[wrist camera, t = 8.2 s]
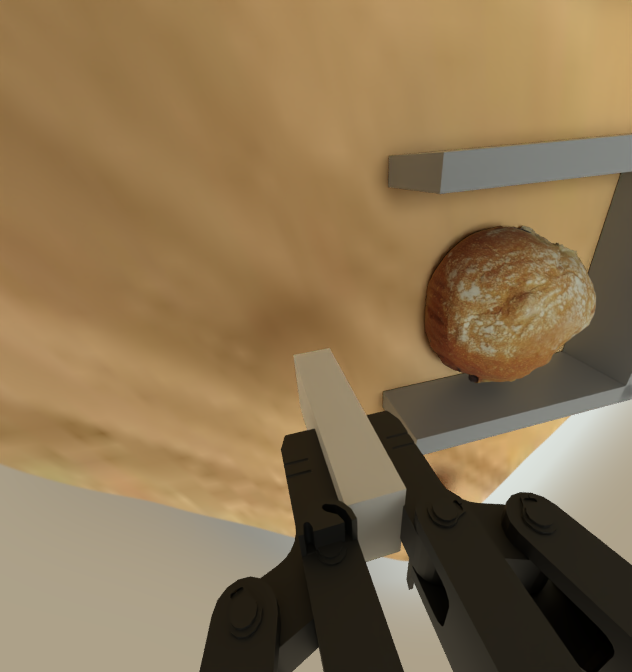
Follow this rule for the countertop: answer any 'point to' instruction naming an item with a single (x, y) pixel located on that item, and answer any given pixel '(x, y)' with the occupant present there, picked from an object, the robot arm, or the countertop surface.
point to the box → (580, 351)
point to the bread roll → (506, 303)
